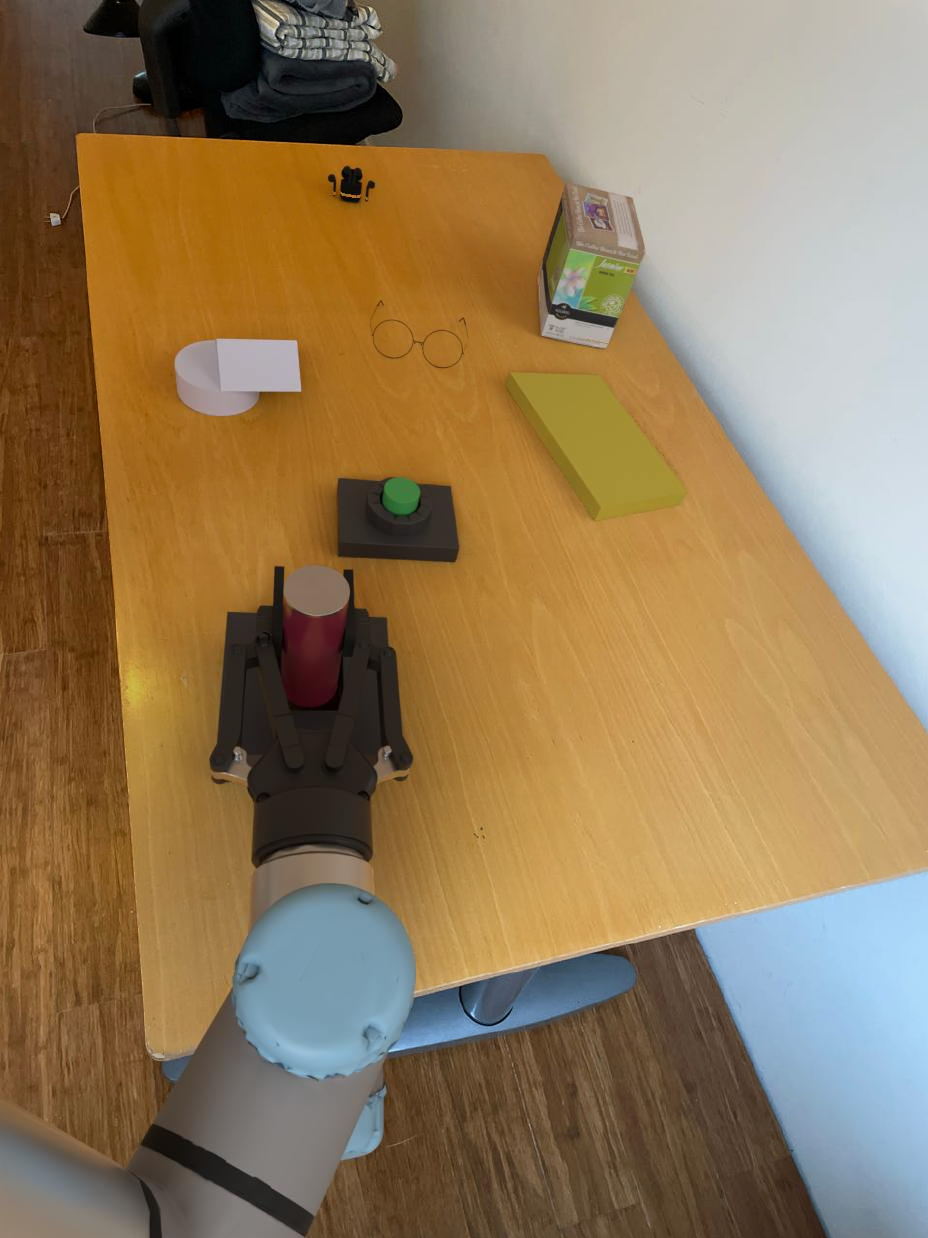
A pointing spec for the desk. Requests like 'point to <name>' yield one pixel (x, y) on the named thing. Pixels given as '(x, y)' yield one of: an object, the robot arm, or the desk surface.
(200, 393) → the wedge on round base
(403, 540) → the panel
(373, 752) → the square peg hole block
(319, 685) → the dark red cylinder
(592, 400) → the flat olive board
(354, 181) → the wireless earbuds
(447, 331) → the eyeglasses
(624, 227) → the tea box
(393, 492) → the button
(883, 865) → the desk surface
